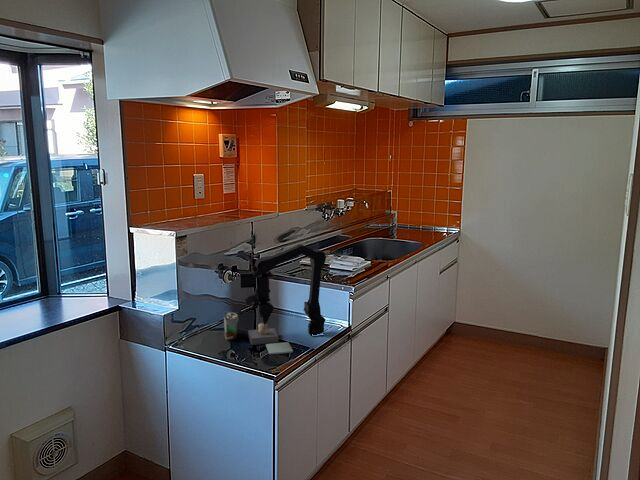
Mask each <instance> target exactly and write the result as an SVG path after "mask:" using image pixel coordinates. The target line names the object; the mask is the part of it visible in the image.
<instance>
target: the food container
mask: <svg viewBox="0 0 640 480" xmlns="http://www.w3.org/2000/svg"><path fill="white" fill-rule="evenodd" d="M239 319H240V318H239V316H238V314H237V313H236V312H232V311H223V332H224V333H223V334H224V337H225V340H226V341H232V340H235V339H236V338H237V334H238V322H239Z"/></svg>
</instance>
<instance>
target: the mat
mask: <svg viewBox="0 0 640 480" xmlns="http://www.w3.org/2000/svg"><path fill="white" fill-rule="evenodd" d="M265 347H266V349H267V352H268V354H269V355H280V354H289V353H291V354H292V353H294V349H293V348H292V346H291V344H290V343H289V341H287V342H286V341H285V342H278V343H268V344H265Z"/></svg>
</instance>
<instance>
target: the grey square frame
mask: <svg viewBox="0 0 640 480" xmlns="http://www.w3.org/2000/svg"><path fill="white" fill-rule="evenodd" d="M247 334H248V335H247V337H248V340H249V343H250V345H251V346H253V345H254V346H256V345H266V344H273V343H279V334H278V333H277V331H276V328H274V327H273V328H271V327H270V328H268V335H259V328H258V329H249V330H247Z"/></svg>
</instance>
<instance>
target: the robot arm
mask: <svg viewBox="0 0 640 480" xmlns="http://www.w3.org/2000/svg"><path fill="white" fill-rule="evenodd" d="M301 255H303V256H305V257H307V258H309V263H310V267H311V271H310V272H311V273H310V284H309V294H308V295H309V296H308V300H307V301H304V302H303V304H304V305H303V306H304V307H303V311H304V314H305V315H306V316H307V318H309V320H308V324H307V333H308V335H310V337H311V336H312V334H313V335H317V334H320V333H322V332H324V333H325V323H326V318H325V317H324V316H323V315H322V313H321V305H320V300H319V299H320V289H321V279H322V278H321V277H322V270H323V268H324V267H325V263H326V260H327V255H326V253H325V252H324V251H322V250H321V249H319V248H311V247H309V246H305V245H304V244H302V243H299V244H297V245H295V246H292V247H290V248H288V249H286V250H283V251H281V252H279V253H276V254H274V255H266V256H262V257H258V258H257V259H256V260H255V264H254V265H253V267H252V269H251V270H250V272H239V275H238V287H239V289H240V290H241V289H253V288H254V287H255V286H256V287H255V289H254V291H252V292H250V293H247V294H245V295H243V296H242V298H243V300H244V302H245V305H246V306H250V305H251V304H253V303H254V304H255V305H256V306H257V309H258V310H257V311H258V314H259V316H260V318H261V319H262V323H264V324H268V321H269V319H270V317H271V315H272V313H273V312H274V305H273V303H272V302H271V298H270V293H271V289H270V278H274V277H275V275H274V274H273V273H272V272H271V271H272V270H273V269H274V268H276V267H277V266H278V265H279V264H282V263H285V262H287V261H289V260H291V259H293V258H294V259H295V258H296V257H299V256H301Z"/></svg>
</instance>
